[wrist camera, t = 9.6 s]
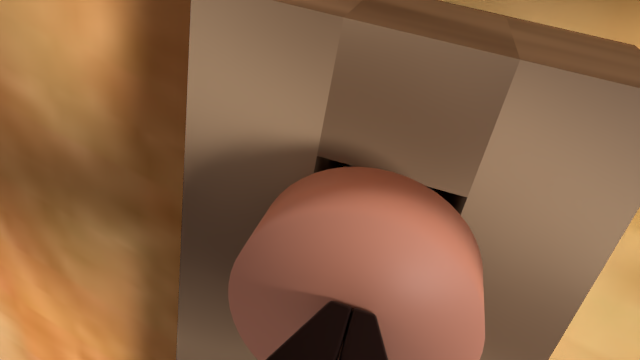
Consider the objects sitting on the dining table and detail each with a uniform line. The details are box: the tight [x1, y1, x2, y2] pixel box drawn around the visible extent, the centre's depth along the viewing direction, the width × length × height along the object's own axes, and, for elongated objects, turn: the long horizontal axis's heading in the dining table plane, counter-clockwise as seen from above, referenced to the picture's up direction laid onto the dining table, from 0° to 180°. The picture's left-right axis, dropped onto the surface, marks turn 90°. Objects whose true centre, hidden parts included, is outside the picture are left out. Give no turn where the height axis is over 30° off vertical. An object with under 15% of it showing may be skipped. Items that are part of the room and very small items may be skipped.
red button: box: [228, 165, 485, 360], centre depth 11 cm, size 5×5×6 cm
